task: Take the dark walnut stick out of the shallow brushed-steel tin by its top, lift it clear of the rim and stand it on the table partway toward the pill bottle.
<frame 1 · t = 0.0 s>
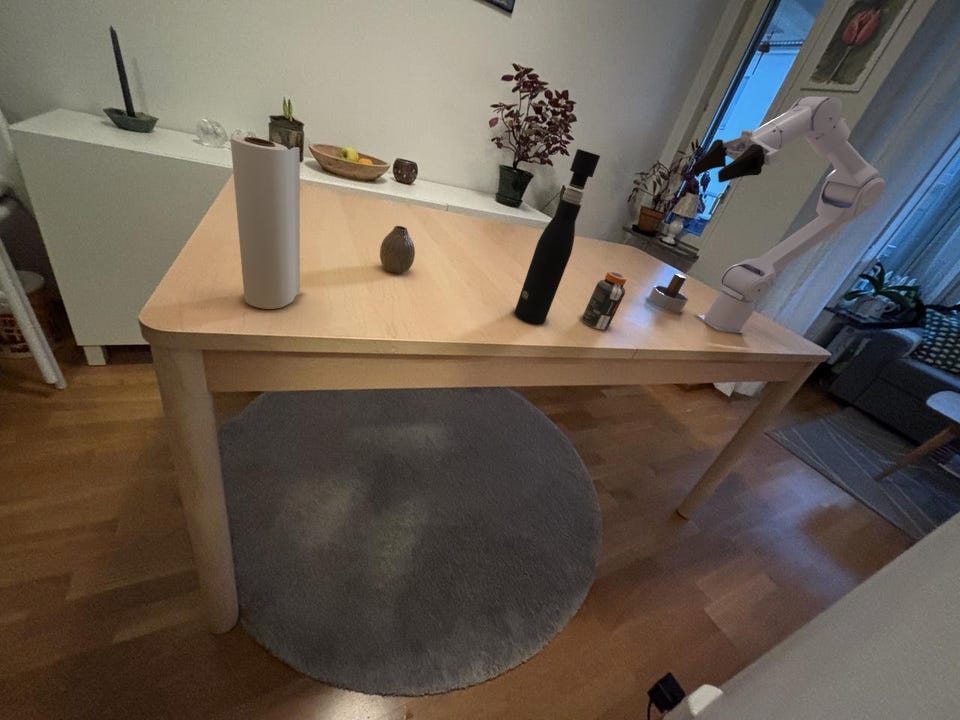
hand: (705, 173, 77), 32 cm above the table, tool tilted 50°, fingers open, 7 cm apart
tin: (663, 305, 106), on the table
vase: (395, 270, 79), on the table
paper towel roll: (272, 302, 57), on the table
pill bottle: (594, 324, 82), on the table
stick: (664, 304, 105), resting on tin
black water bottle: (529, 317, 76), on the table
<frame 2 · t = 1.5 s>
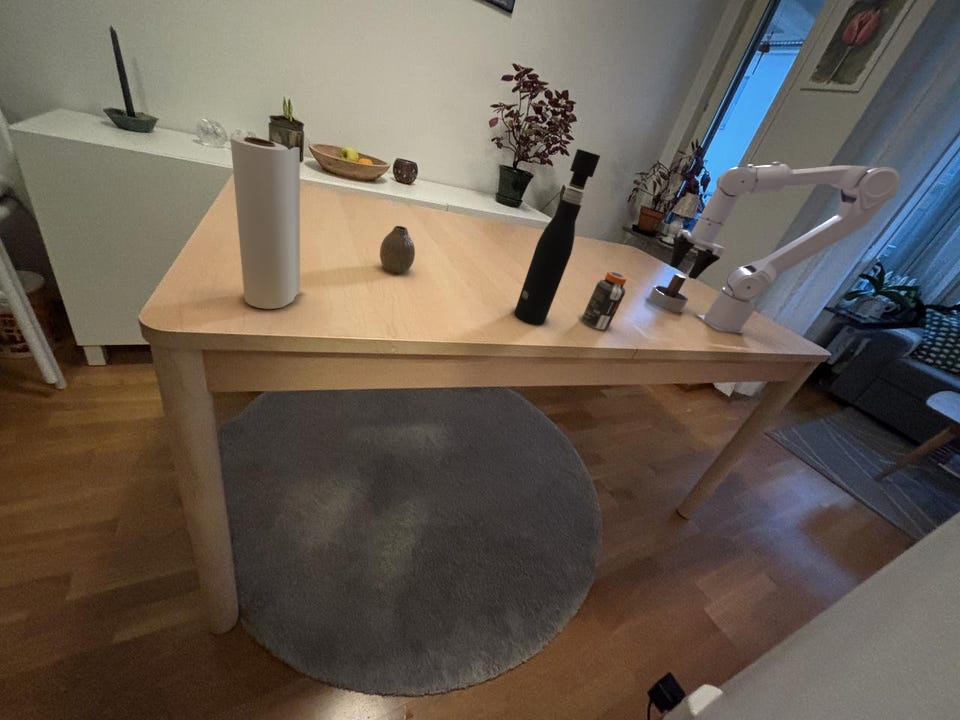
hand: (682, 272, 100), 10 cm above the table, tool pointing down, fingers open, 7 cm apart
nothing on the table moved.
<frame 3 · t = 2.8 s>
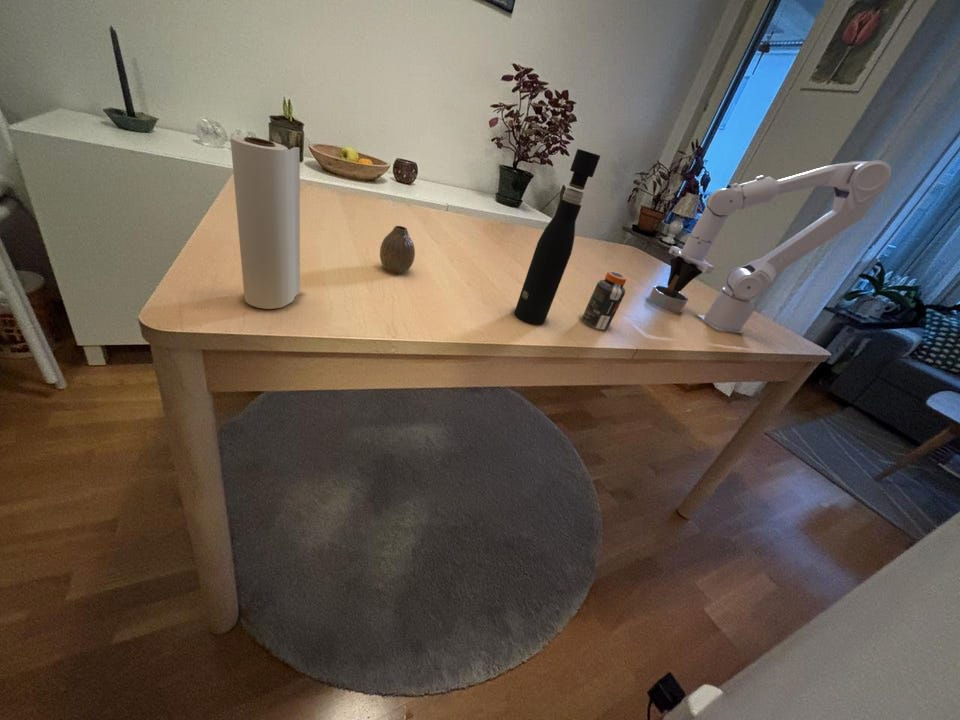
hand: (673, 288, 103), 5 cm above the table, tool pointing down, fingers closed on stick, 2 cm apart
stick: (664, 304, 105), point 1 cm above the table, touching gripper, tin
everything else where it was.
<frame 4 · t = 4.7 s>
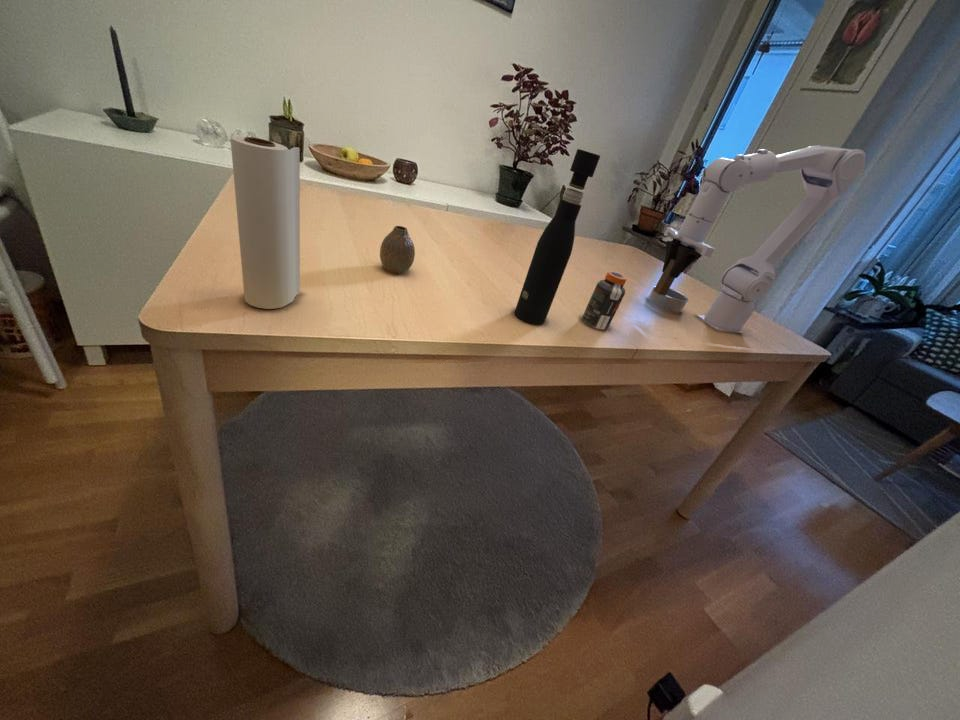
hand: (669, 274, 92), 10 cm above the table, tool pointing down, fingers closed on stick, 2 cm apart
stick: (659, 293, 94), point 6 cm above the table, touching gripper
everything else where it was.
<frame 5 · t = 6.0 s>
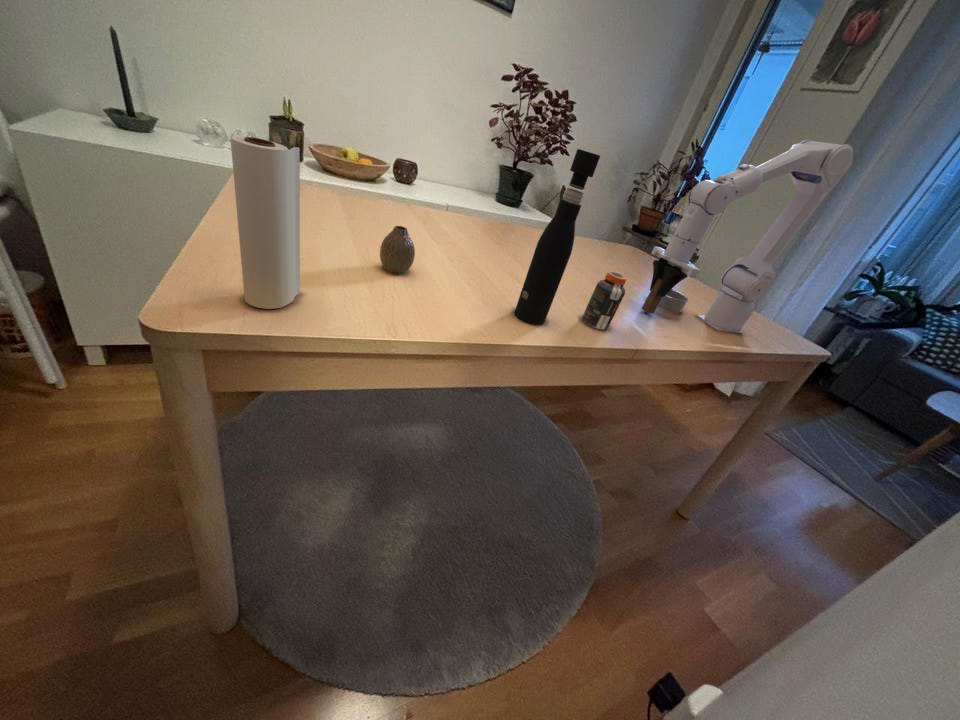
hand: (656, 293, 92), 6 cm above the table, tool pointing down, fingers closed on stick, 2 cm apart
stick: (647, 311, 95), point 1 cm above the table, touching gripper
everything else where it was.
when the fingers open (5 cm above the table, at t = 6.5 s): stick stays where it is, on the table.
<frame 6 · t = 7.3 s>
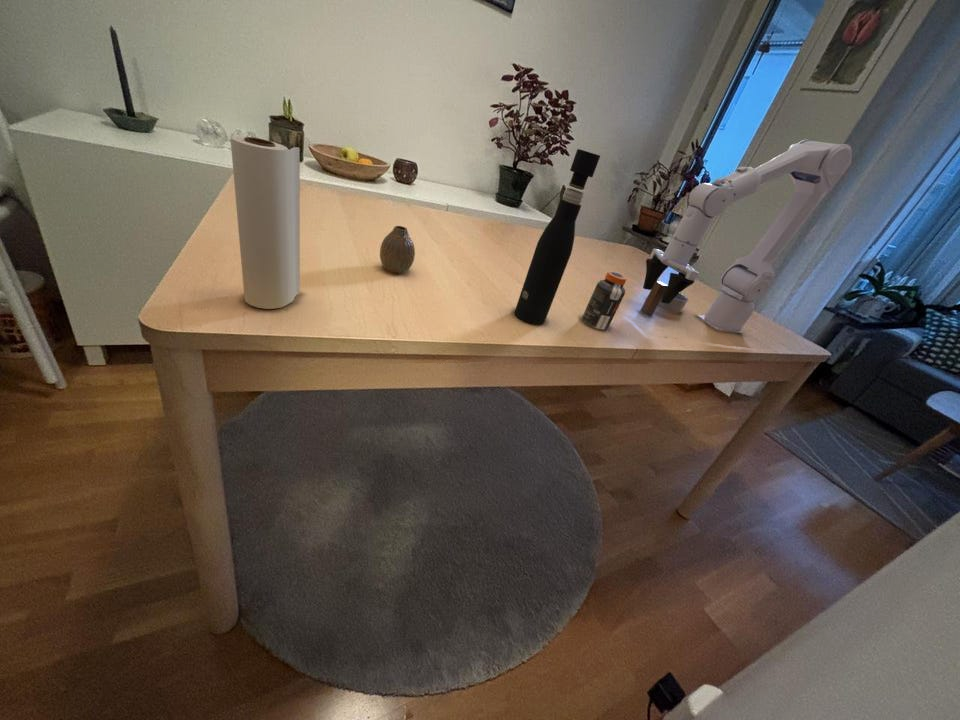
hand: (655, 295, 93), 5 cm above the table, tool pointing down, fingers open, 7 cm apart
stick: (645, 314, 95), on the table
everything else where it was.
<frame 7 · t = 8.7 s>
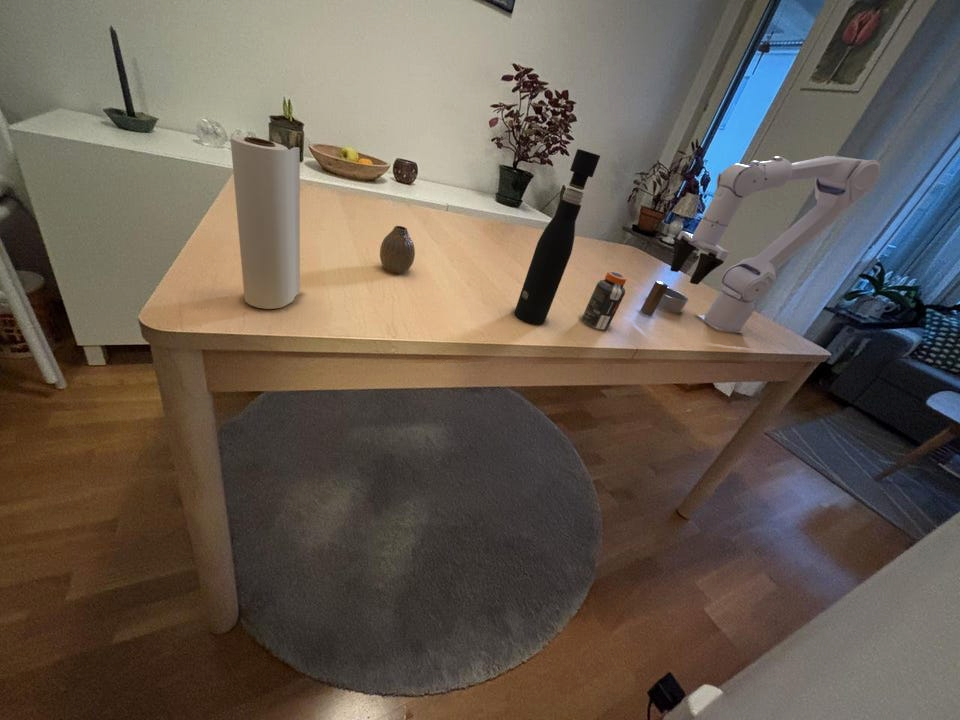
hand: (683, 277, 94), 10 cm above the table, tool pointing down, fingers open, 7 cm apart
nothing on the table moved.
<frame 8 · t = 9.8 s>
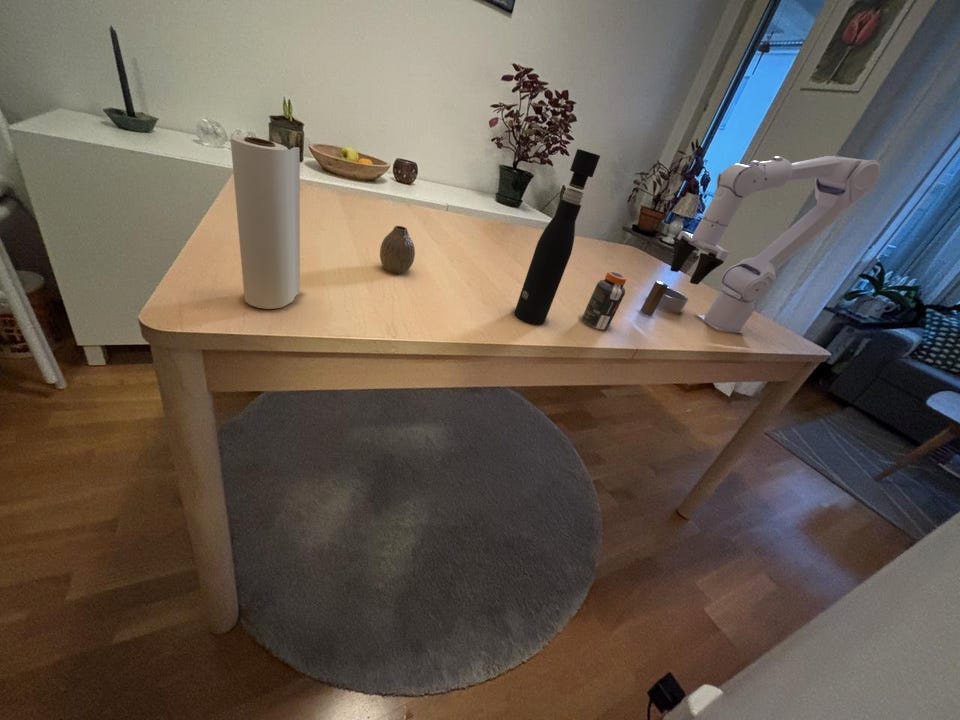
hand: (683, 277, 94), 10 cm above the table, tool pointing down, fingers open, 7 cm apart
nothing on the table moved.
at the end: stick inside the target area (0.0 cm from its centre), on the table; stick touching table; stick 21.9 cm from the pill bottle (horizontally) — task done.
